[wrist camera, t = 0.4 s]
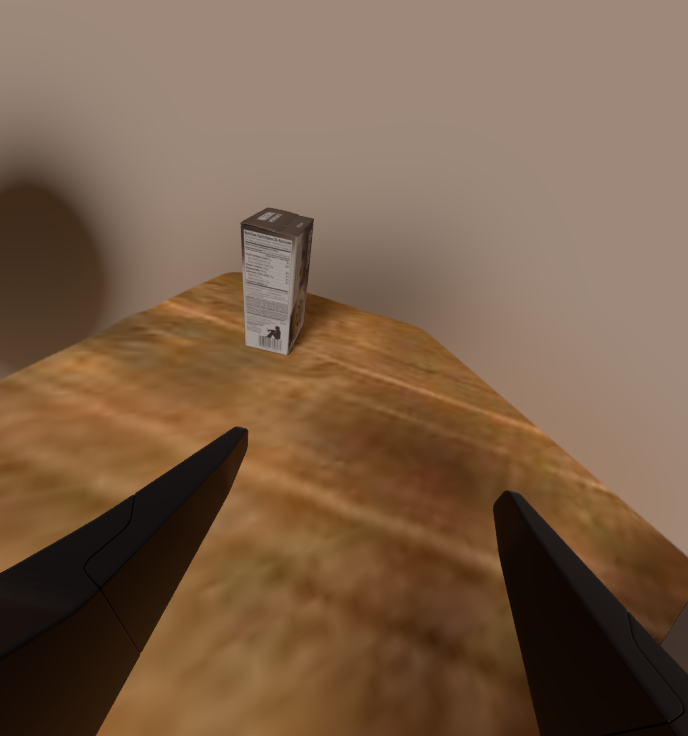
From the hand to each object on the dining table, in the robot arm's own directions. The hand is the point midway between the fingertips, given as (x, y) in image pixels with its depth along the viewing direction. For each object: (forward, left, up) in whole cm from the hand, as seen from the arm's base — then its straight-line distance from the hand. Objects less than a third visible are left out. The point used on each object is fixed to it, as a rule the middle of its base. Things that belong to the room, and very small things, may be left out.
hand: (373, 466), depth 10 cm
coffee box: (+31, +9, -16) cm, 36 cm away
